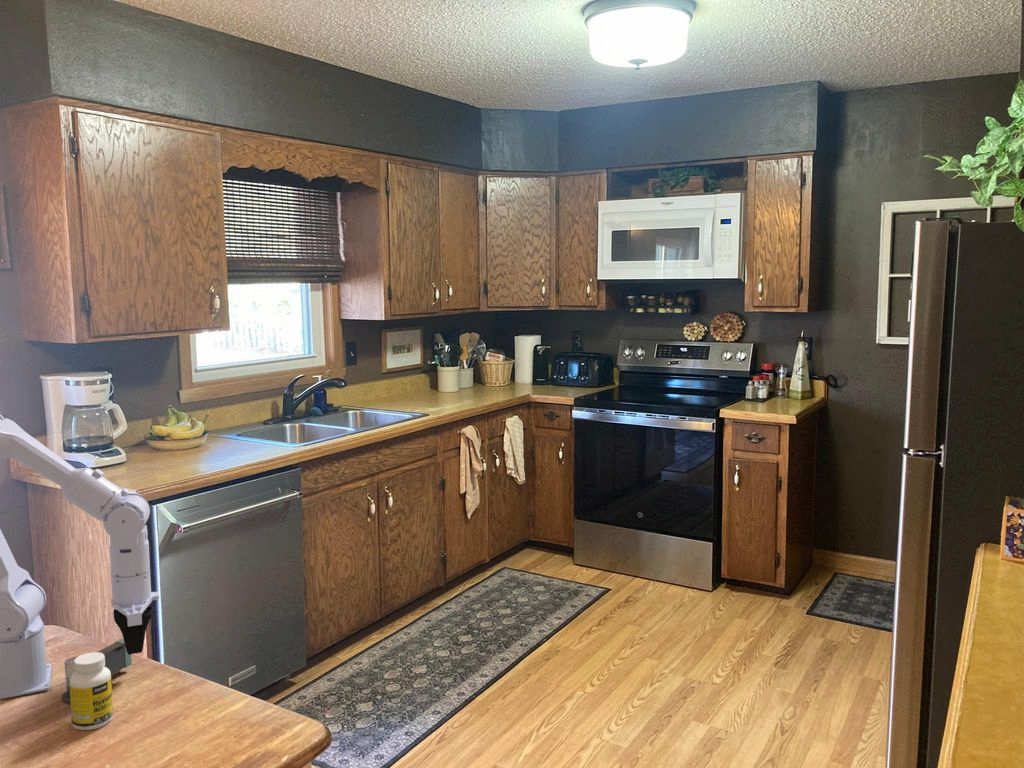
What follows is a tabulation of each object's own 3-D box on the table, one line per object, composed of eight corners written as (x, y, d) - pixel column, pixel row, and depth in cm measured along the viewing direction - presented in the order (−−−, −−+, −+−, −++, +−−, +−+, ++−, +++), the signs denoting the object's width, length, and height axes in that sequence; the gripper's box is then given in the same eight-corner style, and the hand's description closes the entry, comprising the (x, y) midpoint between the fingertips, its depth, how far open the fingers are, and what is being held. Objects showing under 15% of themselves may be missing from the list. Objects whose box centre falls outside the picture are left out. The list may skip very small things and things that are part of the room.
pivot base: (62, 693, 131) (62, 690, 131) (93, 687, 133) (93, 683, 133) (61, 706, 127) (61, 702, 127) (94, 700, 129) (93, 696, 129)
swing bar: (77, 697, 128) (74, 666, 127) (62, 694, 129) (59, 663, 128) (134, 665, 138) (132, 636, 137) (120, 662, 139) (118, 633, 139)
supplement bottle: (96, 733, 119) (92, 668, 118) (63, 729, 121) (58, 664, 119) (121, 714, 125) (117, 651, 123) (89, 710, 126) (85, 648, 124)
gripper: (161, 582, 130) (165, 665, 132) (154, 554, 143) (158, 630, 145) (110, 589, 127) (115, 674, 129) (108, 560, 140) (112, 637, 142)
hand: (134, 651), depth 136 cm, fingers closed
